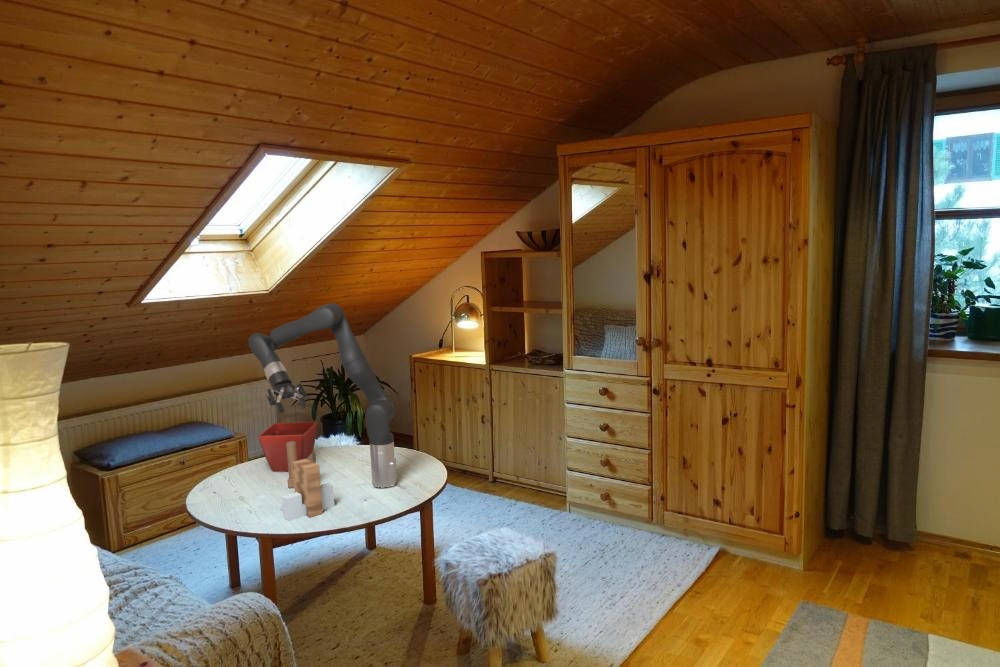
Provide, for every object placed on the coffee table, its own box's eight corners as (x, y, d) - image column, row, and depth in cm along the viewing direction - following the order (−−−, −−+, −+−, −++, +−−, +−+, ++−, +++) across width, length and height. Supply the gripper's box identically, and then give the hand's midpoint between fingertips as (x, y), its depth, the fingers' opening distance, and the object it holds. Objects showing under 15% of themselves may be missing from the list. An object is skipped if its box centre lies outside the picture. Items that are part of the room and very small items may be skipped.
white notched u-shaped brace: (329, 503, 262) (328, 482, 261) (334, 506, 259) (333, 485, 258) (283, 518, 250) (282, 496, 248) (288, 521, 247) (286, 498, 246)
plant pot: (260, 475, 295) (257, 435, 293) (277, 460, 314) (274, 422, 312) (306, 474, 294) (303, 434, 292) (320, 459, 313) (317, 422, 311)
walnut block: (296, 510, 256) (292, 462, 254) (308, 506, 260) (305, 458, 257) (309, 517, 249) (306, 468, 247) (322, 513, 253) (319, 464, 250)
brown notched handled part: (315, 488, 278) (311, 443, 276) (287, 488, 279) (284, 443, 276) (317, 484, 282) (314, 440, 279) (291, 485, 282) (287, 441, 280)
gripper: (262, 373, 268) (278, 407, 262) (297, 367, 278) (313, 400, 271) (257, 385, 273) (273, 419, 266) (291, 378, 282) (308, 411, 276)
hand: (293, 409), depth 269 cm, fingers open, 8 cm apart
